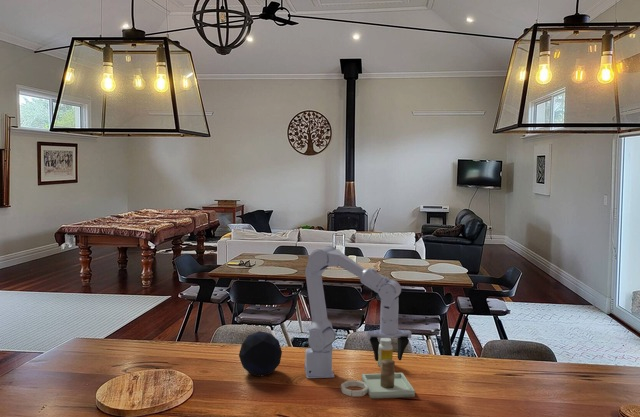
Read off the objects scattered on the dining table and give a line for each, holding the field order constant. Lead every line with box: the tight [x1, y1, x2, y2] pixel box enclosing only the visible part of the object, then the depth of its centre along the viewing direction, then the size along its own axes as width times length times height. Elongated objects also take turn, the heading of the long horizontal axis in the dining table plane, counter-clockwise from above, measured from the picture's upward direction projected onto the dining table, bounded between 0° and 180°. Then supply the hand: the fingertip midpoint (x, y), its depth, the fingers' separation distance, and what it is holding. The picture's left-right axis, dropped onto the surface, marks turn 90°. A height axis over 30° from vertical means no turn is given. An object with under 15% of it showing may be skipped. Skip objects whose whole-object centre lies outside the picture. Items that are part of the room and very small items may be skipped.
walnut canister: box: [380, 359, 396, 389], centre depth 161 cm, size 4×4×8 cm
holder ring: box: [340, 379, 368, 397], centre depth 159 cm, size 8×8×2 cm
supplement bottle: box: [377, 338, 394, 368], centre depth 180 cm, size 5×5×10 cm
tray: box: [361, 372, 416, 399], centre depth 161 cm, size 14×14×2 cm
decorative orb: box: [238, 330, 283, 377], centre depth 171 cm, size 14×15×15 cm
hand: (387, 359), depth 161 cm, fingers open, 7 cm apart
